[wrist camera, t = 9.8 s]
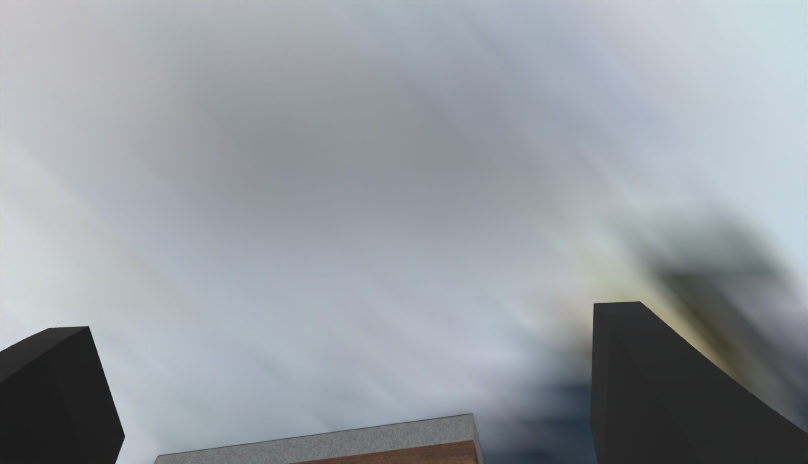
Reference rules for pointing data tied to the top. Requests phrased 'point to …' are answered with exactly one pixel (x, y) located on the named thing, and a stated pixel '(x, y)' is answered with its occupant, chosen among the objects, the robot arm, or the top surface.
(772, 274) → the top surface
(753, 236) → the top surface
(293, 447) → the display case
